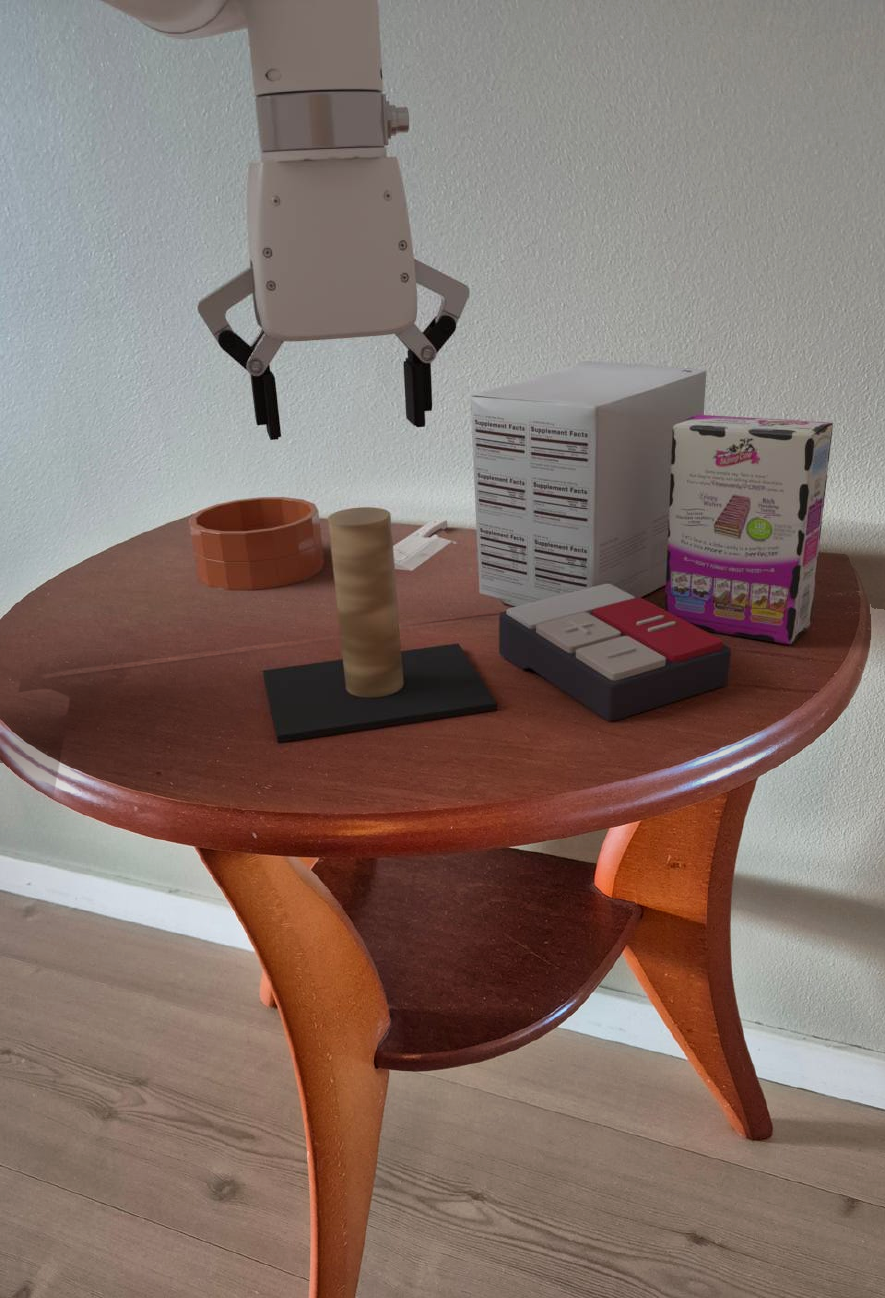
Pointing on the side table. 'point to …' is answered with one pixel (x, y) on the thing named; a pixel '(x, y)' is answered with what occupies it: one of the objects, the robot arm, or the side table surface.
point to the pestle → (366, 600)
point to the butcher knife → (419, 546)
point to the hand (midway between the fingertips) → (345, 429)
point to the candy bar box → (746, 524)
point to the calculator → (613, 650)
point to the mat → (325, 707)
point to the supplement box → (577, 478)
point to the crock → (257, 543)
